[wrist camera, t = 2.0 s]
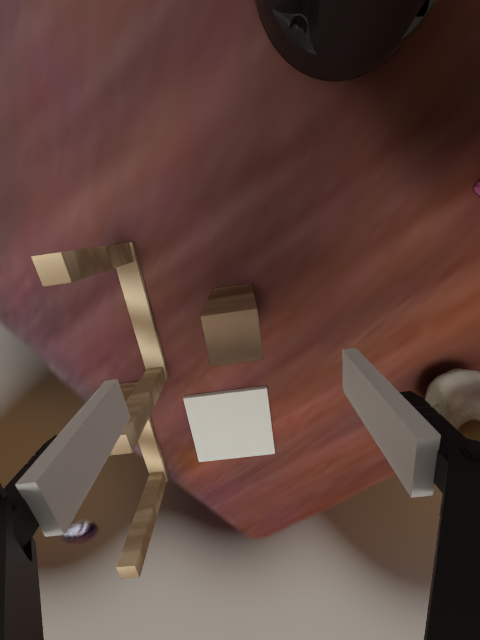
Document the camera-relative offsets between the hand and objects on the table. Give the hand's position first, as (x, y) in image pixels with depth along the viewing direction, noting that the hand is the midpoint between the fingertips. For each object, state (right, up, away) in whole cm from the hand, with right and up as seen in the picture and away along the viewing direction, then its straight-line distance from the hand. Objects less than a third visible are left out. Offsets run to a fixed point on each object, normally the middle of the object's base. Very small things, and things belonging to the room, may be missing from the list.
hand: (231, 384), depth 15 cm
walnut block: (0, +6, +15) cm, 16 cm away
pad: (-1, -11, +21) cm, 24 cm away
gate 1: (-11, +4, +16) cm, 20 cm away
